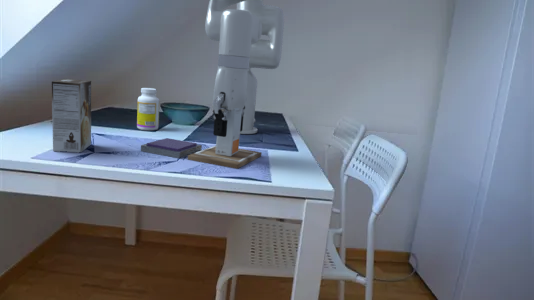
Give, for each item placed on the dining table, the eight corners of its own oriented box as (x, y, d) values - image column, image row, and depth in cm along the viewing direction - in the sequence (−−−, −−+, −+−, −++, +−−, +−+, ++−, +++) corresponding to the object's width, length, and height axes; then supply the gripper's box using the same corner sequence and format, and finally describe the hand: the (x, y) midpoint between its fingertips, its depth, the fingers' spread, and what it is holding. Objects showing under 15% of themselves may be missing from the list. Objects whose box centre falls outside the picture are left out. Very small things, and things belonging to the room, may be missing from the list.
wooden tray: (217, 148, 113) (217, 144, 113) (261, 156, 109) (261, 151, 109) (187, 159, 98) (187, 154, 98) (237, 168, 94) (237, 163, 94)
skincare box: (231, 157, 100) (235, 108, 98) (215, 154, 101) (218, 106, 99) (239, 152, 106) (242, 106, 104) (223, 150, 107) (226, 104, 105)
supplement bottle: (145, 126, 135) (146, 87, 132) (162, 129, 133) (164, 89, 130) (132, 128, 129) (133, 87, 126) (150, 131, 127) (151, 90, 124)
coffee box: (64, 143, 102) (64, 78, 99) (91, 144, 103) (92, 80, 100) (51, 151, 93) (50, 80, 90) (81, 153, 95) (81, 83, 91)
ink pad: (165, 144, 112) (165, 137, 111) (201, 150, 108) (201, 143, 108) (140, 151, 102) (140, 143, 101) (179, 158, 98) (179, 150, 98)
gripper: (234, 62, 108) (229, 126, 112) (202, 61, 92) (198, 135, 96) (260, 65, 106) (254, 130, 109) (233, 64, 89) (227, 140, 93)
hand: (228, 133), depth 102 cm, fingers open, 9 cm apart
